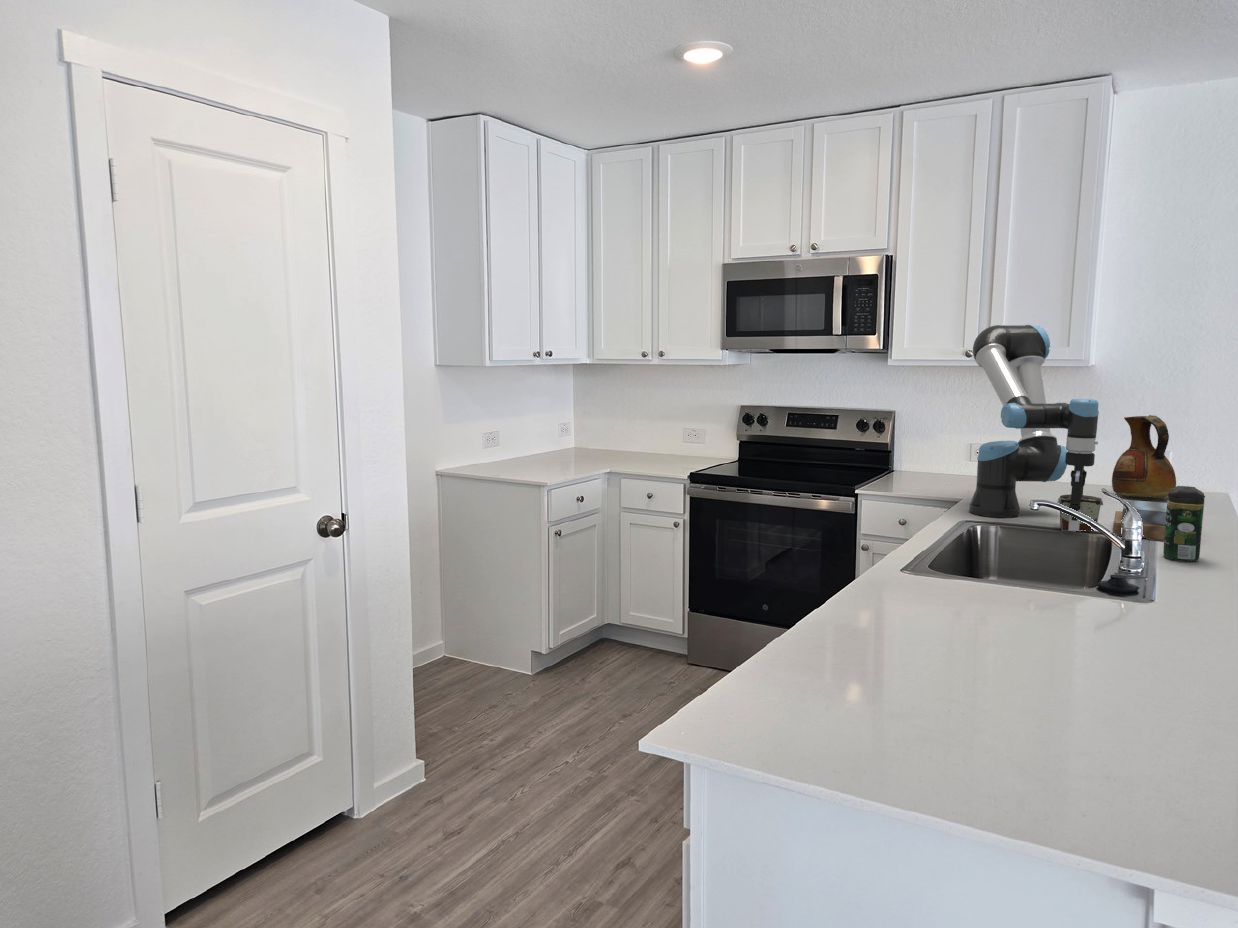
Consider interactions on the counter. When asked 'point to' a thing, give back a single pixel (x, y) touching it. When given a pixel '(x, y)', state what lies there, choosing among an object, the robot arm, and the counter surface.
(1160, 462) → the ceramic pitcher
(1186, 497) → the coffee jar
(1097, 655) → the counter surface
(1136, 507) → the pedestal
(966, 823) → the counter surface
